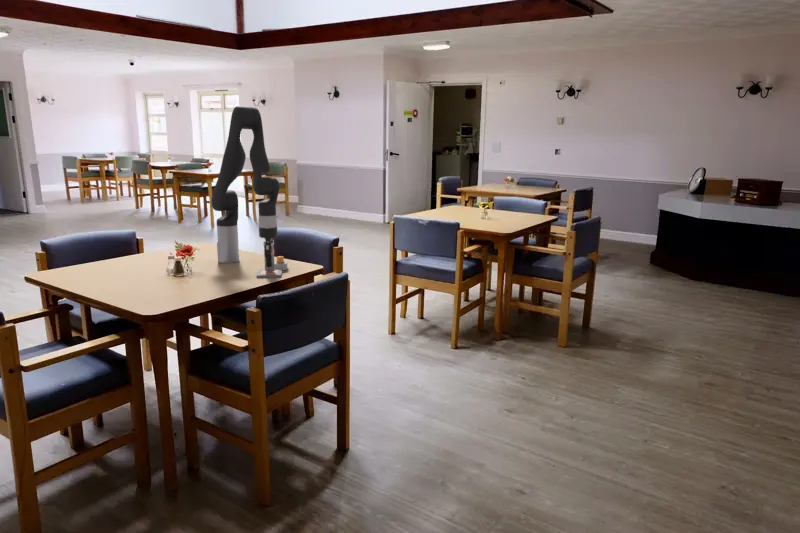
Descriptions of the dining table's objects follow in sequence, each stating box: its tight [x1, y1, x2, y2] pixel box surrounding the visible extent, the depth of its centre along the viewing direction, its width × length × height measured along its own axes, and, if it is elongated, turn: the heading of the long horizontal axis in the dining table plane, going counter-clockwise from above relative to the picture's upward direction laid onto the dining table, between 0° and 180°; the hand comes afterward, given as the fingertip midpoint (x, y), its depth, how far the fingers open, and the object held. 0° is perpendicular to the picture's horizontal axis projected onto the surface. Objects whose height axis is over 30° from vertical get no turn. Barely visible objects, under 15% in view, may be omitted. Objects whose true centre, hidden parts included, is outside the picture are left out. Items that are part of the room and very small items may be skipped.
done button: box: [276, 255, 285, 264], centre depth 251 cm, size 3×3×3 cm
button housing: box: [274, 260, 288, 271], centre depth 252 cm, size 6×6×3 cm
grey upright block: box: [263, 248, 275, 272], centre depth 240 cm, size 4×4×9 cm
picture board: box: [256, 269, 283, 279], centre depth 242 cm, size 10×10×1 cm
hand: (269, 265), depth 241 cm, fingers closed on grey upright block, 3 cm apart
